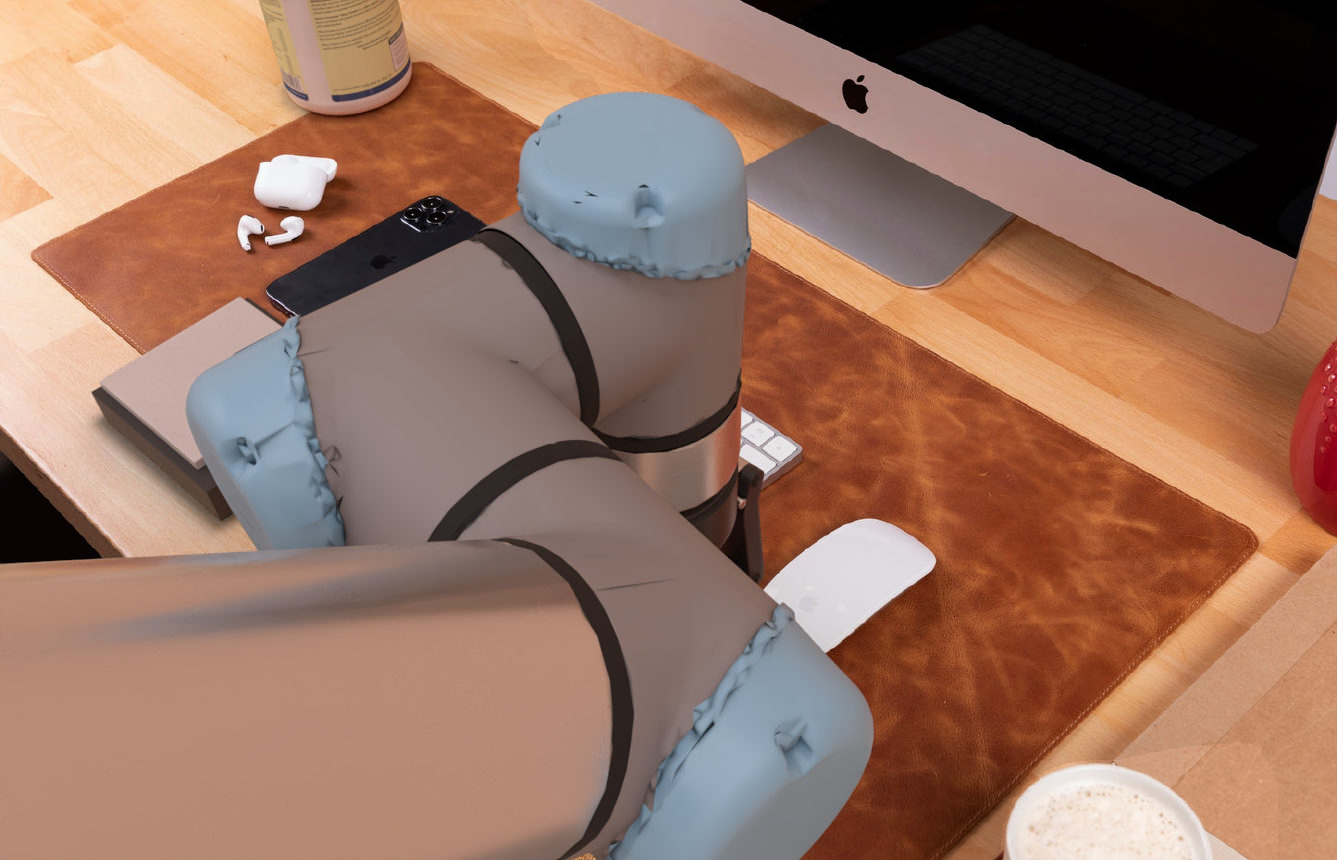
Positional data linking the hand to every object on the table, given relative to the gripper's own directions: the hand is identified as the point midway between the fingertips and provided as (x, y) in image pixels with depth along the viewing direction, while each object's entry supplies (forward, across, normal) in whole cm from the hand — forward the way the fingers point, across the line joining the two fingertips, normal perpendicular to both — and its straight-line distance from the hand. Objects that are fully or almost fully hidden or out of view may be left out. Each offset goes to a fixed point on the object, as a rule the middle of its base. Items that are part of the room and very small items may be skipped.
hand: (661, 724), depth 65 cm
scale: (+1, +1, -39) cm, 39 cm away
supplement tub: (+1, -32, -68) cm, 75 cm away
